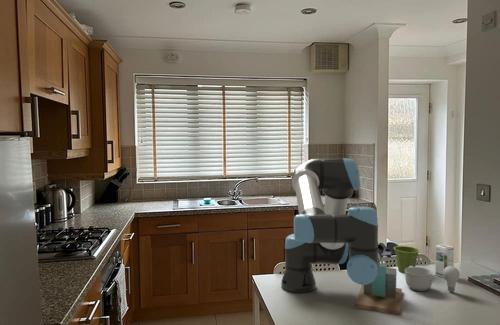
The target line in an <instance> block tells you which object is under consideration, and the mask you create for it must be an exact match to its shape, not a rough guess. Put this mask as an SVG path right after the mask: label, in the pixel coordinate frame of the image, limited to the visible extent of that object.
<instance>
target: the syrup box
mask: <svg viewBox="0 0 500 325" xmlns="http://www.w3.org/2000/svg"><path fill="white" fill-rule="evenodd" d="M454 253H455V247H454V246H451V245H447V244H437V245H435V273H434V274H435V276H437V277H440V278H443V279H445V277H444V275H443V270H444V269H445V268H446V267H448V266H453V267H455V266H454V260H455V257H454V256H455V254H454Z"/></svg>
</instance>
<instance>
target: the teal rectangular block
mask: <svg viewBox="0 0 500 325" xmlns="http://www.w3.org/2000/svg"><path fill="white" fill-rule="evenodd" d="M386 268H387V264H385V263H380V265H379V268H378V275H377V277H376V278H375V279H374V281H373V282H372V295H374V296H380V297H386Z"/></svg>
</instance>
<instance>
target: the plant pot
mask: <svg viewBox="0 0 500 325" xmlns="http://www.w3.org/2000/svg"><path fill="white" fill-rule="evenodd" d="M393 249H394V253H395V255H396V264H397V270H398V271H399V272H400V273H403V274H405V269H406V268H408V267H409V266H413V267H416V265H417V264H416V263H417V259H418V256H419V253H420V249H419V248H418V247H413V246H407V245H396V246H394V247H393Z"/></svg>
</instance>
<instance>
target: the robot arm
mask: <svg viewBox="0 0 500 325" xmlns="http://www.w3.org/2000/svg"><path fill="white" fill-rule="evenodd" d="M358 166H359V165H358V163H357V161H356V160H355V159H353V158H346V157H342V158H311V159H309V160H305V161H304V162H302V163H300V164H299V165H298V166H297V167H296V168H295V170H294V171H293V173H292V175H291V186H292V189H293V190H294V191H295V193H296V194H295V196H296V201H297V209H298V214H296V215H294V216H293V233H292V234H289V235H288V236H286V238H285V241H284V249H285V250H284V252H285V254H284V256H285V257H284V258H285V259H284V261H285V262H284V264H285V265H284V266H285V268H284V270H283V271H284V272H283V275H282V279H281V283H280V284H281V288H282V290H285V291H287V292H291V293H295V294H296V293H297V294H305V293H310V292H313V291H315V290H316V287H317V286H316V284H317V282H316V279H315V276H314V275H315V274H313V269H312V268H313V267H312V266H313V265H315V264H316V265H343V264H345V262H346V261H347V259H348V261H347V264H346V273H347V275H348V277H349V278H350V280H351V281H352V282H353V283H355V284H357V285H361V286H362V285H367V284H370V283H371V282H373V281H374V279H375V278H376V277H377V275H378V268H379V265H380V264H381V261H382V259H383V258H384V257H386V258H392V249H391V248H389V247H387V246H386V244H384V243H383V242H378V241H379V223H378V220H379V219H378V213H377V210H376V209H375V208H373V207H370V206H351V207H349V208H348V210H347V206H348V200H349V198H351V197H352V196H353V195H354V191H358V190H359V189H360V187H361V186H360V185H361V184H360V182H361V180H360V170H359V167H358ZM320 191H322V193H323V194H324V195H325V198H324V203H323V200H322V196H321V192H320Z"/></svg>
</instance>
